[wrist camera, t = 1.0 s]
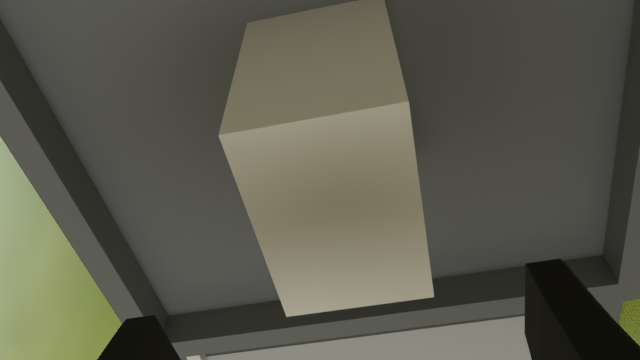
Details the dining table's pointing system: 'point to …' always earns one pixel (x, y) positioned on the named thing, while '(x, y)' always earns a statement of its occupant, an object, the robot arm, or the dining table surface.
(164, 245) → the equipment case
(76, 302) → the dining table surface
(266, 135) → the block
